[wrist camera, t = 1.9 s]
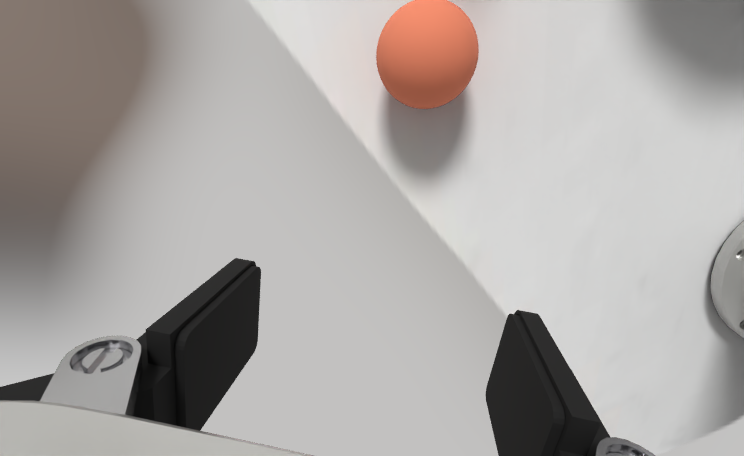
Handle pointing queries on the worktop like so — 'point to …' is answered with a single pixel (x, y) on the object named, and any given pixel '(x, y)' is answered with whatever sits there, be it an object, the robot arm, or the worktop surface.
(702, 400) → the worktop surface
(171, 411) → the robot arm
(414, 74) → the ball
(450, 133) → the worktop surface
